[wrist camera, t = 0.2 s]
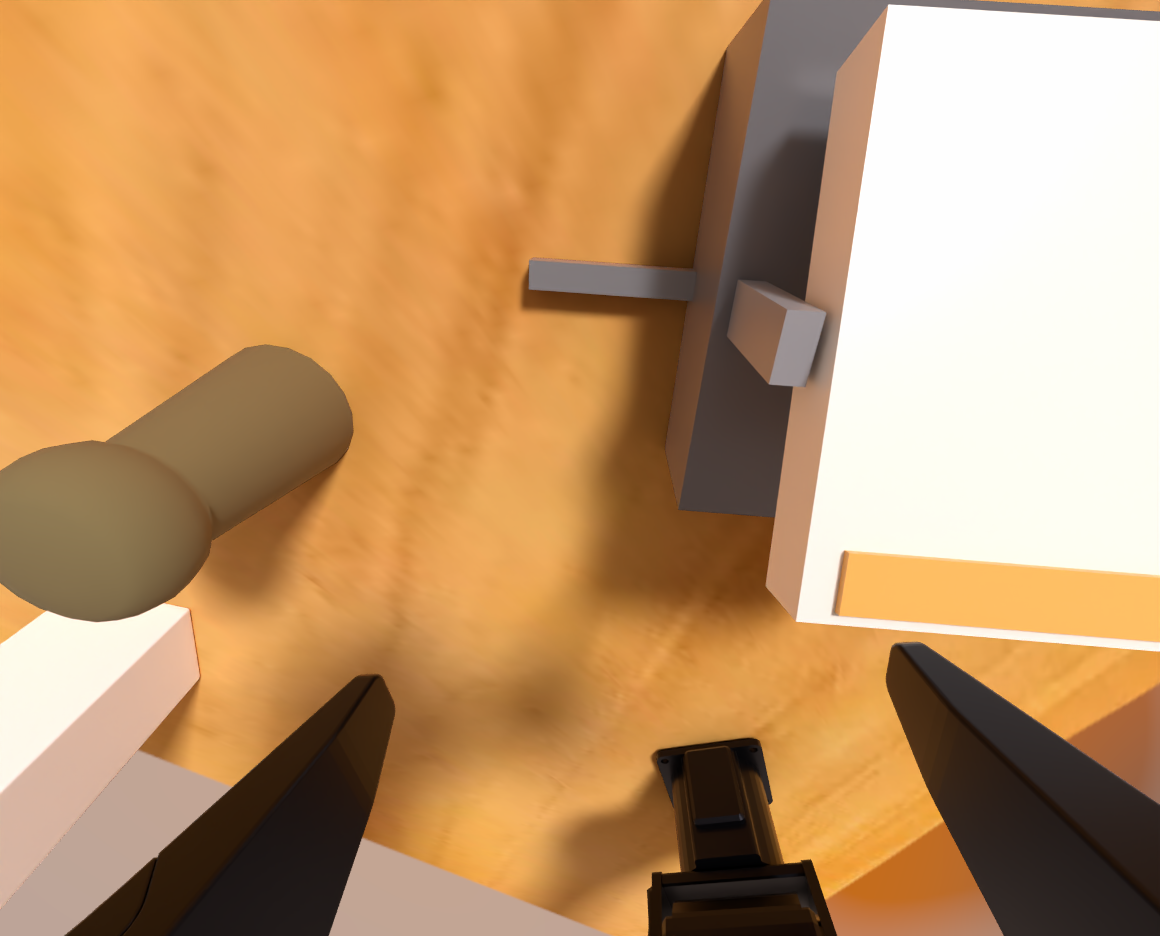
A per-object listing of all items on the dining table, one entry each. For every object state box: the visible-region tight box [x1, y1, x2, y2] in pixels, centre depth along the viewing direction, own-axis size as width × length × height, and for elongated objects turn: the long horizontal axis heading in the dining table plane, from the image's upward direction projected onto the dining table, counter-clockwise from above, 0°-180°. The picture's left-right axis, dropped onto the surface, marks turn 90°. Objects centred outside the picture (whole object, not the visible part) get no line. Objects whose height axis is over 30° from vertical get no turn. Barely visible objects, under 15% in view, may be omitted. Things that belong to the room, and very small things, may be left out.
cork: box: [0, 345, 353, 622], centre depth 18 cm, size 6×6×11 cm
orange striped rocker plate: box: [766, 5, 1160, 651], centre depth 11 cm, size 12×10×2 cm
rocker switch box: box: [529, 0, 1160, 517], centre depth 15 cm, size 14×36×10 cm, turn 86°
